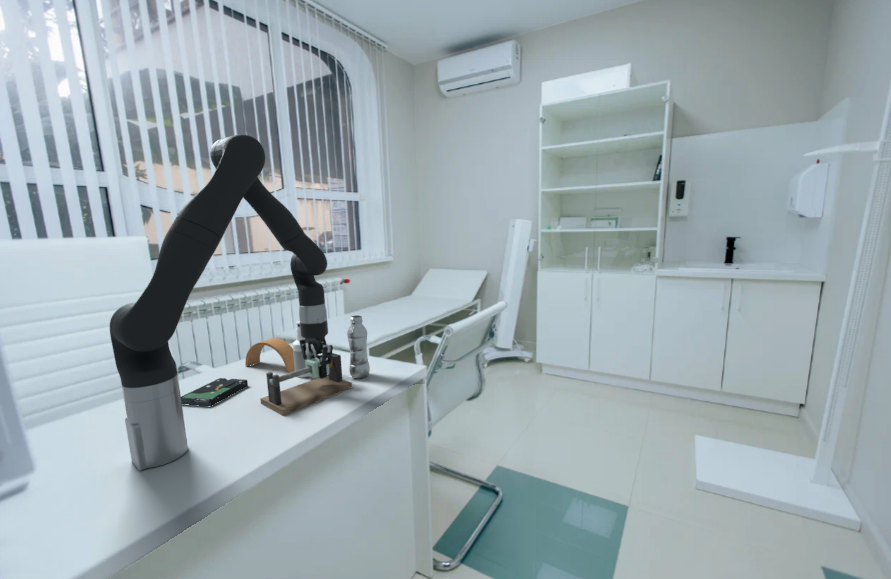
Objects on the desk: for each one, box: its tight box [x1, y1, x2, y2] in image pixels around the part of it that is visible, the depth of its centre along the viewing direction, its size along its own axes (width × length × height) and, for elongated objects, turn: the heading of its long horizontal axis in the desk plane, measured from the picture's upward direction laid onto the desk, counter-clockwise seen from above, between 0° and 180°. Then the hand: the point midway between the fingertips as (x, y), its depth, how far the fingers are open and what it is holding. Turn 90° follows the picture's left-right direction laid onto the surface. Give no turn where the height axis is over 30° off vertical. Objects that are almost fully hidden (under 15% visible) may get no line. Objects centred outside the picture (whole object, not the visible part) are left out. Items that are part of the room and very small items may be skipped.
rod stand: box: [259, 352, 353, 416], centre depth 110 cm, size 22×12×10 cm, turn 141°
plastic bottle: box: [346, 315, 371, 379], centre depth 122 cm, size 6×7×20 cm
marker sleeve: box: [305, 358, 330, 379], centre depth 112 cm, size 5×4×4 cm
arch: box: [245, 337, 295, 374], centre depth 134 cm, size 6×20×10 cm, turn 67°
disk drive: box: [181, 377, 249, 407], centre depth 112 cm, size 10×3×15 cm
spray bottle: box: [292, 320, 310, 379], centre depth 126 cm, size 7×7×18 cm
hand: (318, 375), depth 112 cm, fingers closed on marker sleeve, 4 cm apart
